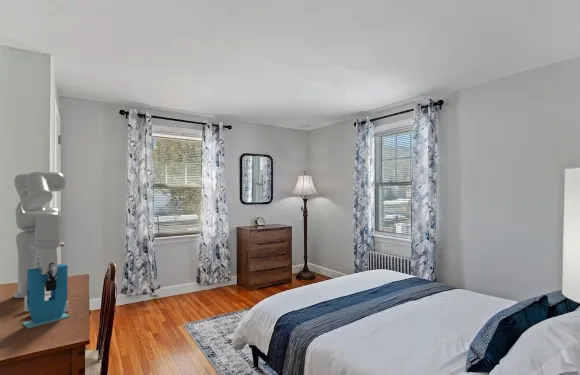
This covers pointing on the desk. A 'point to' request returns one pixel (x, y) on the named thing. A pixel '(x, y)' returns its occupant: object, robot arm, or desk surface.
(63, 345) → the desk surface
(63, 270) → the block
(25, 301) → the rack
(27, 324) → the mat
